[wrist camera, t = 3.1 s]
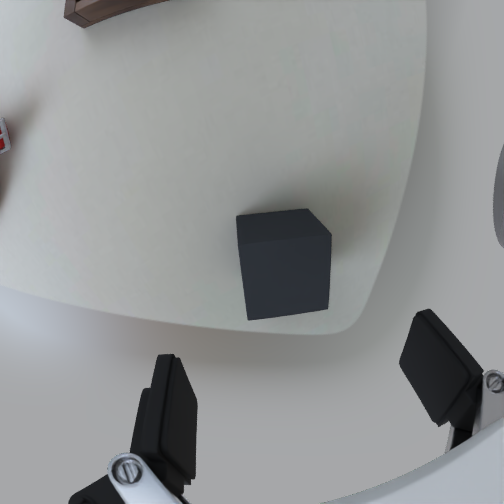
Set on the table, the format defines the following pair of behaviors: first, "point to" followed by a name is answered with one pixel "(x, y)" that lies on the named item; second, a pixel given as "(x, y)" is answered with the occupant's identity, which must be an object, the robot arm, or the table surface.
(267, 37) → the table surface
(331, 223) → the table surface
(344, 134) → the table surface
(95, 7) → the frame
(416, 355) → the robot arm
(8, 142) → the tracker holder
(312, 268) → the dark grey block
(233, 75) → the table surface
